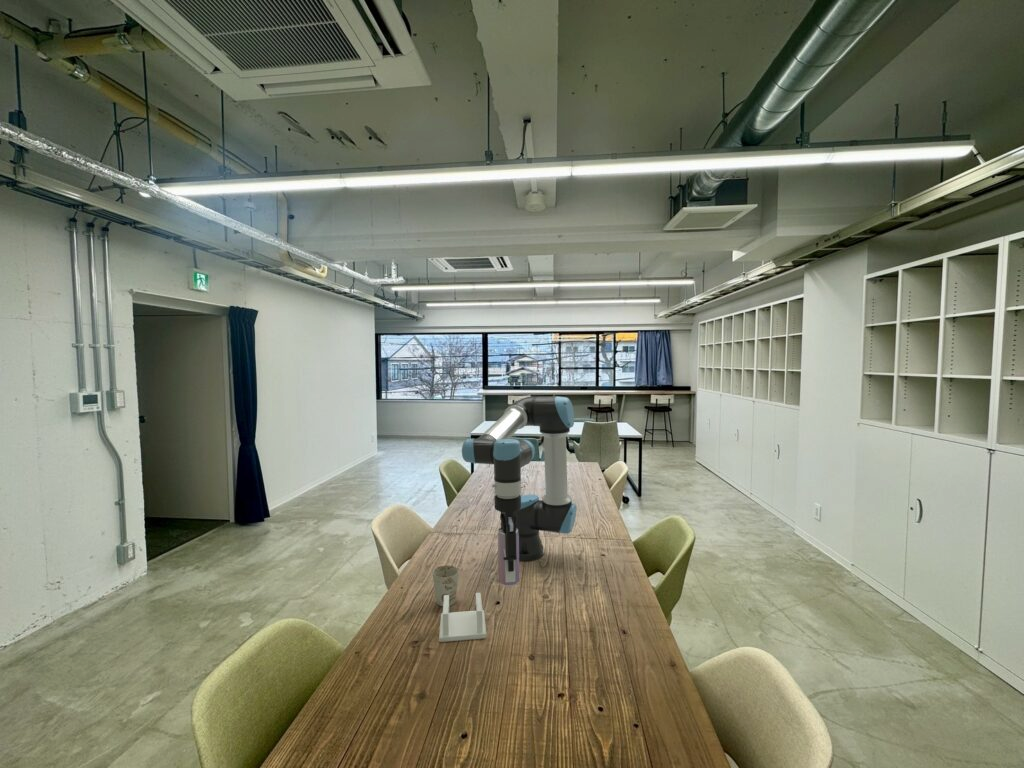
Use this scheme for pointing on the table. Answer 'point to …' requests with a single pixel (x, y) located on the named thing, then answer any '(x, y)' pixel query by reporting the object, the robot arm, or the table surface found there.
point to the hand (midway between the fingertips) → (508, 575)
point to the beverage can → (502, 562)
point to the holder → (462, 622)
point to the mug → (445, 583)
